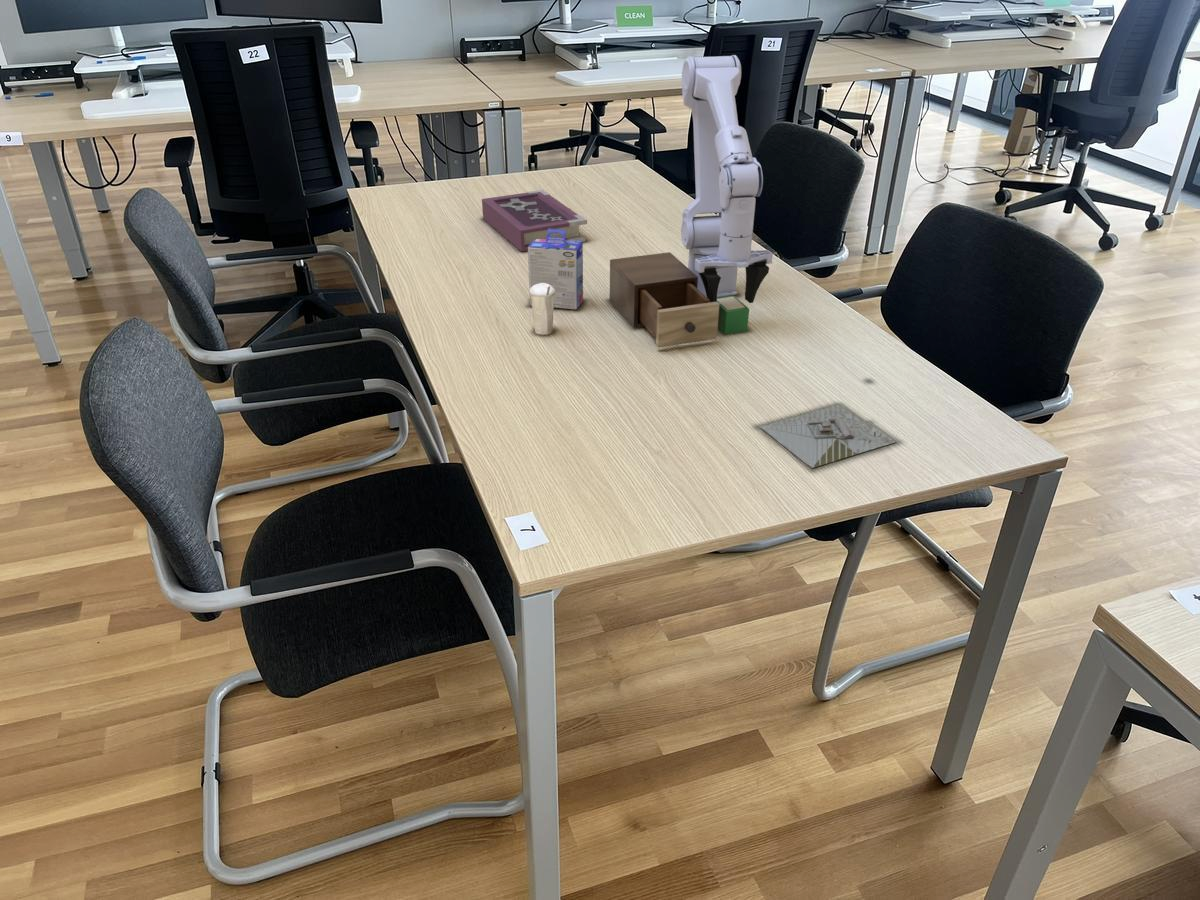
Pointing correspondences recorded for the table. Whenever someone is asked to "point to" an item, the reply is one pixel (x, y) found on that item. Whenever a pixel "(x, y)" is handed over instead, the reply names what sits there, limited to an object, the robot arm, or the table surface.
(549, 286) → the milkshake
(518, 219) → the book
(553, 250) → the ink cartridge box
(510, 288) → the table surface
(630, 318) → the cabinet
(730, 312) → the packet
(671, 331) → the drawer
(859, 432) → the grey flat square slab
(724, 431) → the table surface
